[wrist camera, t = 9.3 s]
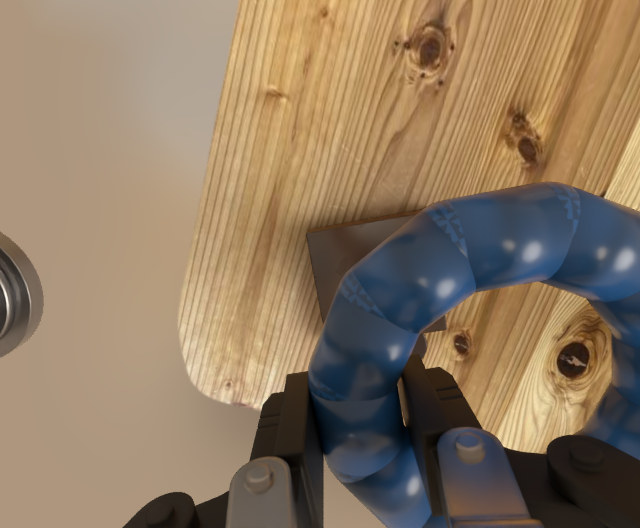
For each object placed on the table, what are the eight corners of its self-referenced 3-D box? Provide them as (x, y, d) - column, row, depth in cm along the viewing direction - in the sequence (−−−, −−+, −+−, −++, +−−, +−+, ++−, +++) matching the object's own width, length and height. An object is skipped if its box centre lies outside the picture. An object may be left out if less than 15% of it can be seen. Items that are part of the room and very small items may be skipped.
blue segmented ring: (346, 529, 14) (350, 602, 12) (280, 224, 11) (268, 242, 9) (669, 482, 14) (741, 551, 11) (682, 148, 11) (781, 147, 8)
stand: (327, 339, 33) (327, 437, 21) (306, 229, 30) (294, 275, 19) (441, 321, 32) (501, 412, 21) (429, 208, 30) (489, 242, 19)
